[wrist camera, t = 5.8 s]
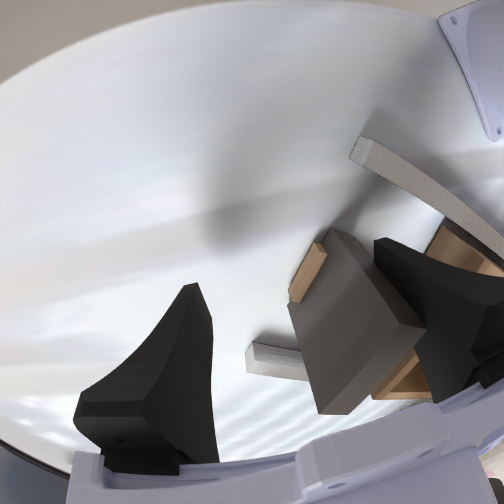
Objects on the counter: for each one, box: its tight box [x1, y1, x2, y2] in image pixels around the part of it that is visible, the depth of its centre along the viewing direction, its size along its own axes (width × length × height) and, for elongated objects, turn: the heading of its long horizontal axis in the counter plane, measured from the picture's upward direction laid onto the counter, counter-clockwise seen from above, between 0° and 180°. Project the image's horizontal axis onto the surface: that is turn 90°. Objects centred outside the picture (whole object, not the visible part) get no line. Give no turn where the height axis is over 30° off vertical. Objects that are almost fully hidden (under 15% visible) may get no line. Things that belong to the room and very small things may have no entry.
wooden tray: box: [287, 226, 504, 415], centre depth 14 cm, size 18×11×7 cm, turn 68°
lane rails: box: [245, 136, 504, 381], centre depth 18 cm, size 26×14×2 cm, turn 68°
